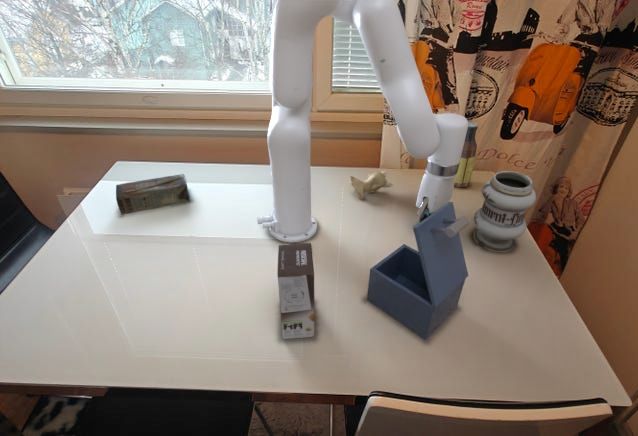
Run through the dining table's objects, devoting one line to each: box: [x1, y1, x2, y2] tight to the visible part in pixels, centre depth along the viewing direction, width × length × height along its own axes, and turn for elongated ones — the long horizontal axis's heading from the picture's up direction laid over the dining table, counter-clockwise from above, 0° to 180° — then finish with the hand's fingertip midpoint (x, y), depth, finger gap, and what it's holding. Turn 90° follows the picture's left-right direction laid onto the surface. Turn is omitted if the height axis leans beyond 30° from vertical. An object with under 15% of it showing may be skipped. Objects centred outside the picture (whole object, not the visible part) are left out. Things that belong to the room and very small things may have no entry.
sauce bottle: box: [454, 121, 479, 189], centre depth 118 cm, size 7×6×20 cm
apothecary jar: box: [472, 170, 537, 253], centre depth 94 cm, size 12×12×18 cm
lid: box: [412, 201, 470, 307], centre depth 68 cm, size 15×12×5 cm
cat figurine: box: [349, 170, 393, 200], centre depth 117 cm, size 8×7×12 cm
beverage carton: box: [115, 173, 191, 216], centre depth 112 cm, size 8×19×7 cm, turn 113°
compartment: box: [366, 243, 467, 341], centre depth 79 cm, size 15×12×9 cm
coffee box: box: [277, 242, 316, 340], centre depth 73 cm, size 9×6×16 cm
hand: (429, 226), depth 104 cm, fingers closed on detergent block, 4 cm apart
